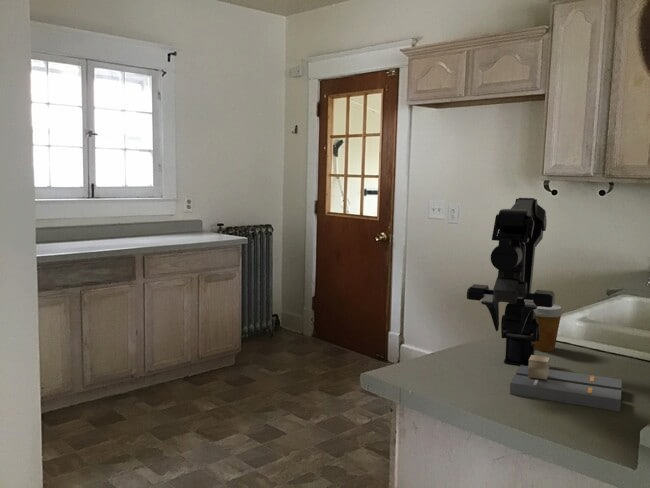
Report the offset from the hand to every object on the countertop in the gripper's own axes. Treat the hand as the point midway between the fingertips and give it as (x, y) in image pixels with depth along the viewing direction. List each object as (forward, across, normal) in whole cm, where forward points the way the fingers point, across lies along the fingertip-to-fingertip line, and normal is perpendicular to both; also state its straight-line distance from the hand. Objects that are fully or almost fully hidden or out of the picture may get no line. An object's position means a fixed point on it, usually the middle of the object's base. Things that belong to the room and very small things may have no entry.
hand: (508, 332), depth 141 cm
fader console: (+12, +13, 0) cm, 18 cm away
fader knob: (+12, +7, 0) cm, 14 cm away
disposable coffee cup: (+12, +4, +34) cm, 36 cm away
